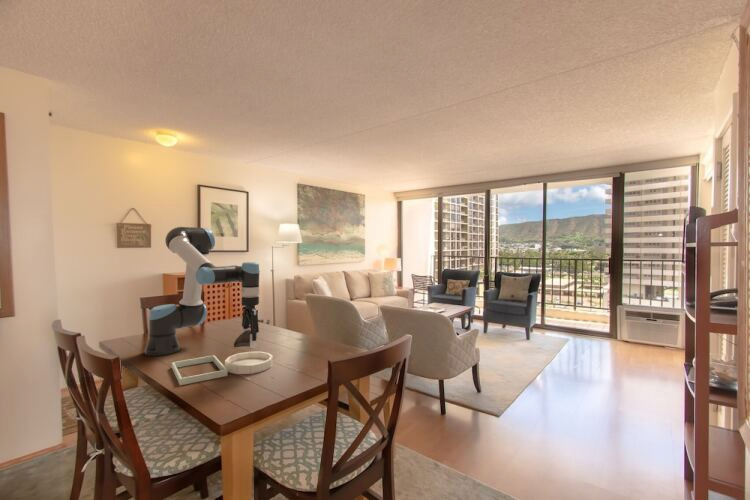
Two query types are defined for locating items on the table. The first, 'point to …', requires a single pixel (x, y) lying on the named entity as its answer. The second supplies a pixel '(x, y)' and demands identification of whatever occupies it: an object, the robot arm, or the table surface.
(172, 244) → the robot arm
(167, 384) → the table surface
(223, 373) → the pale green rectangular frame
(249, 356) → the bowl
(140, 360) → the table surface
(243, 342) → the stone
